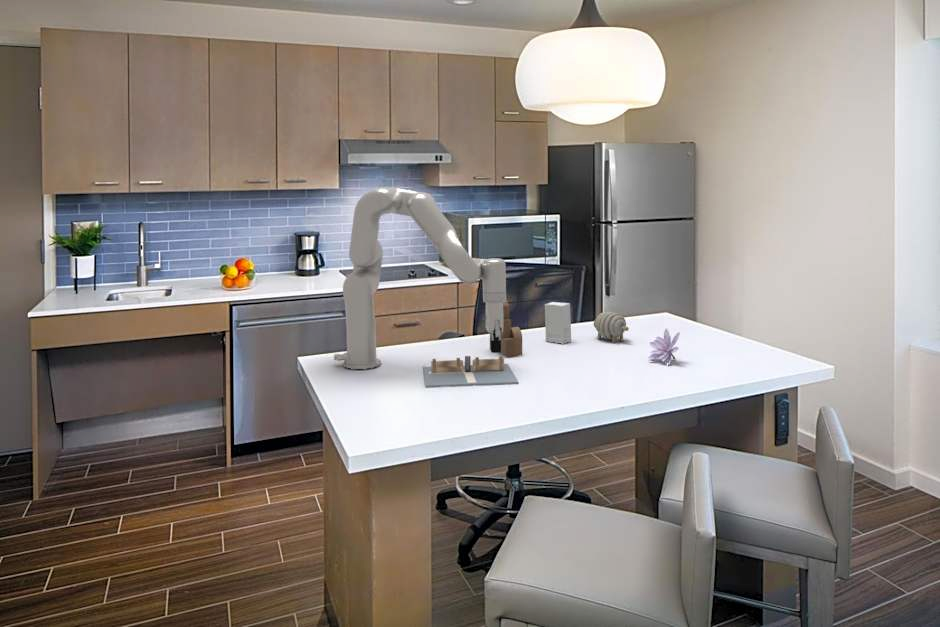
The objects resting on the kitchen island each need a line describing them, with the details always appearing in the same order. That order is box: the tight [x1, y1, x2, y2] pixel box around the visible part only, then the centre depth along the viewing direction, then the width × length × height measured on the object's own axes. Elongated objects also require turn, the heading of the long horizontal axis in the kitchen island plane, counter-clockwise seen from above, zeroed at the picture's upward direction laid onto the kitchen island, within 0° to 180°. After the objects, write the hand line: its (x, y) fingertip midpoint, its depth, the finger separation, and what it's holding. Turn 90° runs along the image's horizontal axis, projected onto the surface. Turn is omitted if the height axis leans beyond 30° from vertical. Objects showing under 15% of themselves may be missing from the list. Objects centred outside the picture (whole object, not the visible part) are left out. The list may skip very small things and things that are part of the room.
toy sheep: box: [593, 311, 630, 343], centre depth 272 cm, size 11×17×11 cm, turn 39°
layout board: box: [422, 363, 520, 388], centre depth 226 cm, size 28×22×1 cm
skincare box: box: [544, 301, 572, 345], centre depth 270 cm, size 8×6×15 cm
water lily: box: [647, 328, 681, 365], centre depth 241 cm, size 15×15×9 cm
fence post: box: [464, 355, 472, 372], centre depth 228 cm, size 2×2×6 cm
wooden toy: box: [489, 299, 523, 358], centre depth 254 cm, size 16×7×25 cm, turn 24°
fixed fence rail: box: [430, 357, 464, 372], centre depth 228 cm, size 10×1×4 cm, turn 96°
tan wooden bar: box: [472, 355, 505, 371], centre depth 229 cm, size 10×1×4 cm, turn 96°
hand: (495, 351), depth 236 cm, fingers closed
